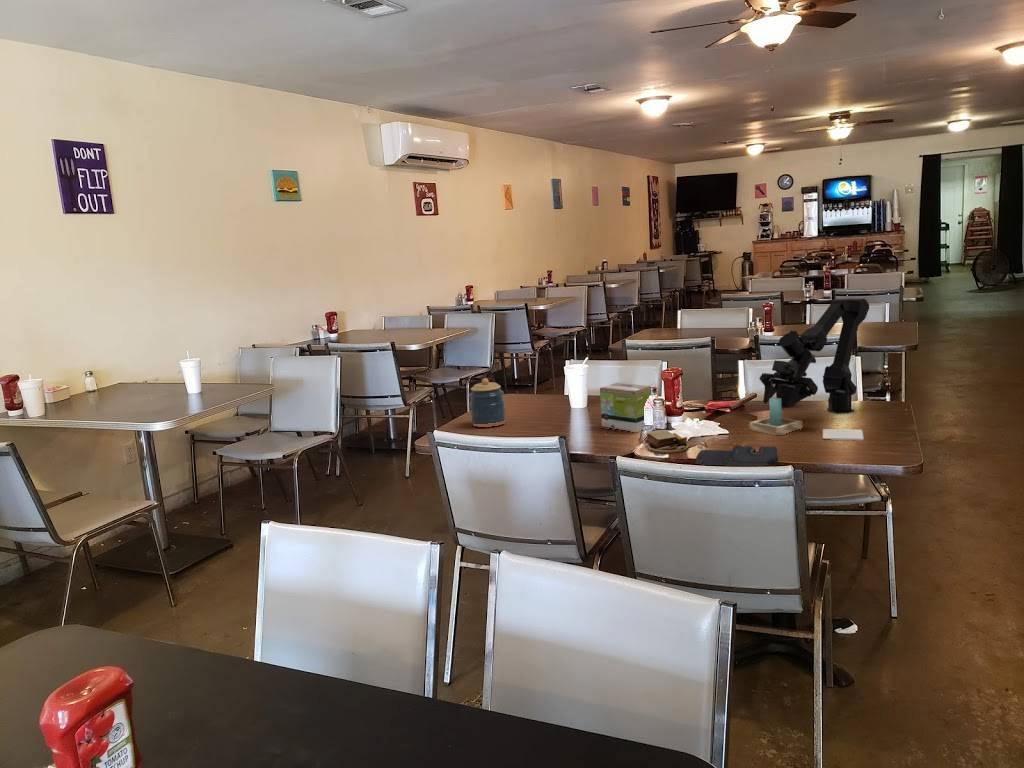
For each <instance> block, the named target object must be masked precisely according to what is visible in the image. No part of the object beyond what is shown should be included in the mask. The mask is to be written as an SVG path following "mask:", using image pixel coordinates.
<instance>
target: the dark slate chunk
mask: <svg viewBox="0 0 1024 768" xmlns="http://www.w3.org/2000/svg"><path fill="white" fill-rule="evenodd" d="M694 461H695V462H694V463H695V464H701V465H726V466H764V465H777V466H778V464H779V463H778V461H779V456H778V449H777V447H776V446H759V447H758V451H756V449H755V448H754V447H752V446H750V445H748V446H742V445H737V444H736V445H735V446H733V447H732V450H723V449H720V450H719V449H715V450H711V449H701V450H700V451H699V452H698V453H697V455H696V456H695V460H694ZM695 464H694V465H695Z"/></svg>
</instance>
